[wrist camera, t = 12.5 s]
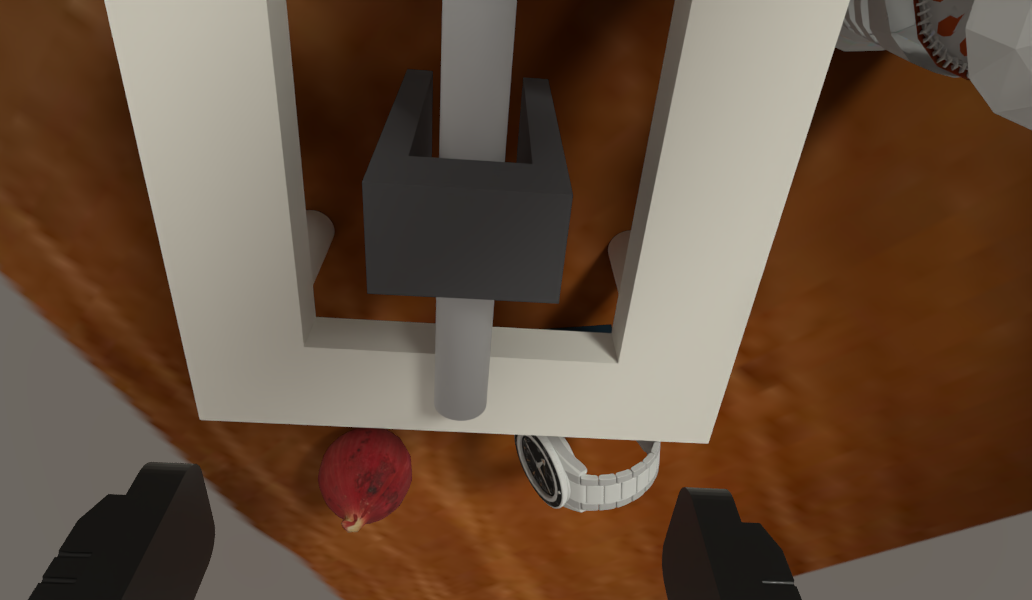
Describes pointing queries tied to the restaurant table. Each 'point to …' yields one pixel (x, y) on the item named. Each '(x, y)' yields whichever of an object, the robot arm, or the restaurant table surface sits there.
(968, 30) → the french press
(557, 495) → the watch
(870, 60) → the restaurant table surface
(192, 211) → the square frame stand
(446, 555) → the restaurant table surface
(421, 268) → the grey u-shaped bracket
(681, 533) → the robot arm
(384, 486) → the onion
